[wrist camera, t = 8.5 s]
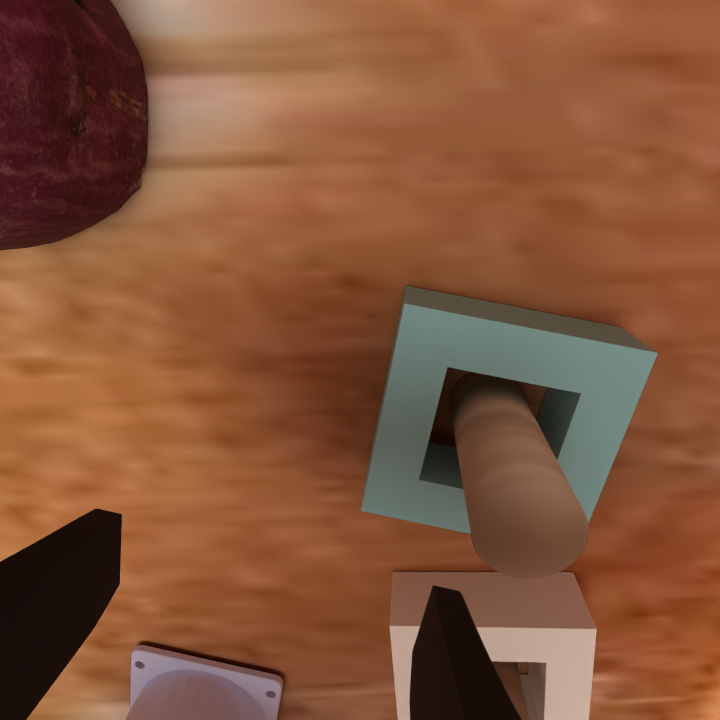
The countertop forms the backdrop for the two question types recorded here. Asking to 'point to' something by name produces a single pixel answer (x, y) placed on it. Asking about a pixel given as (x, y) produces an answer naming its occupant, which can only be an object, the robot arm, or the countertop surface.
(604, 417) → the teal square frame block
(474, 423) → the maple dowel
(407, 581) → the white peg holder
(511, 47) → the countertop surface
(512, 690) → the walnut dowel
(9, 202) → the vegetable
